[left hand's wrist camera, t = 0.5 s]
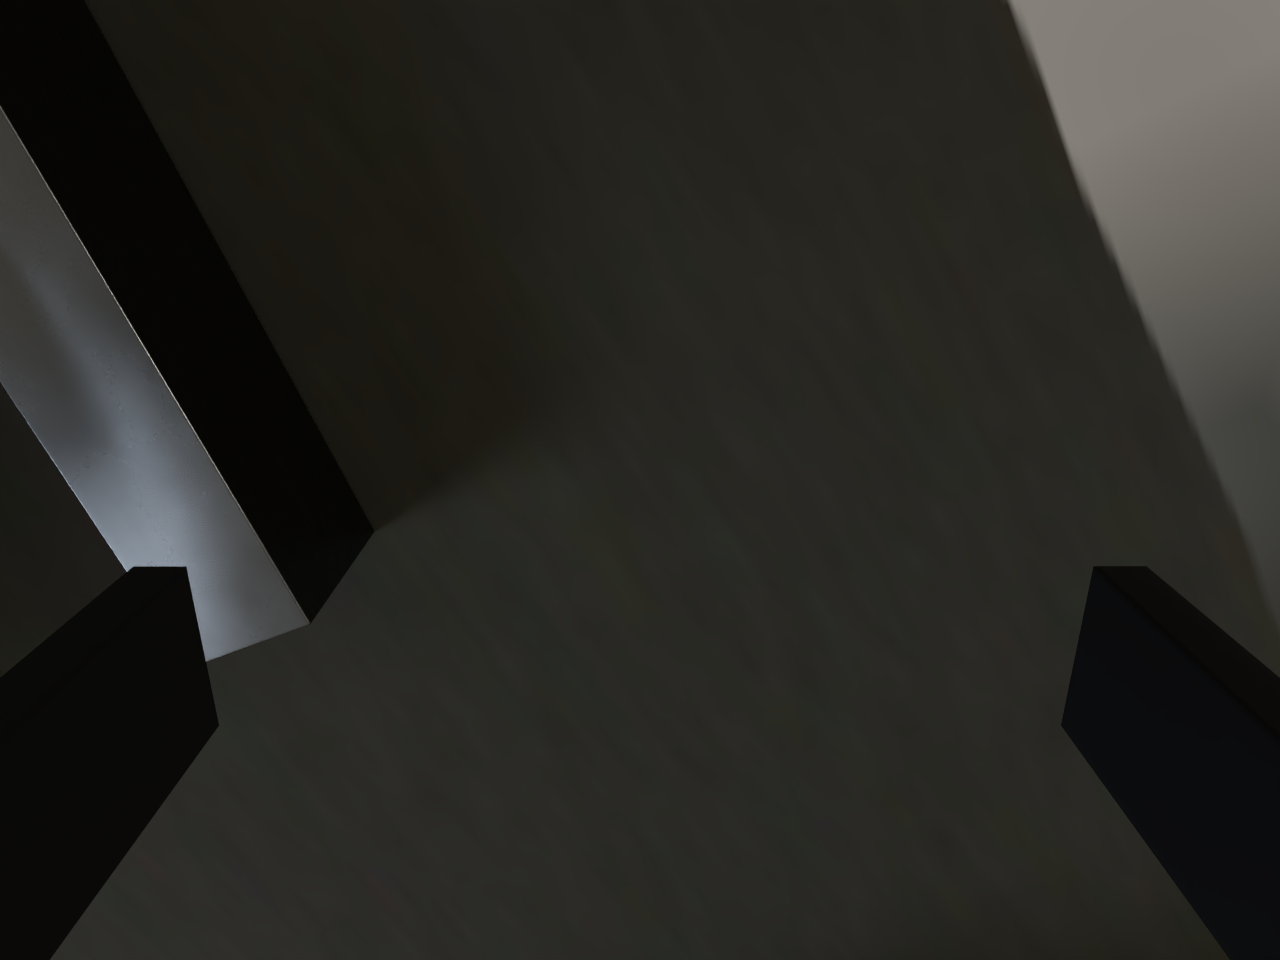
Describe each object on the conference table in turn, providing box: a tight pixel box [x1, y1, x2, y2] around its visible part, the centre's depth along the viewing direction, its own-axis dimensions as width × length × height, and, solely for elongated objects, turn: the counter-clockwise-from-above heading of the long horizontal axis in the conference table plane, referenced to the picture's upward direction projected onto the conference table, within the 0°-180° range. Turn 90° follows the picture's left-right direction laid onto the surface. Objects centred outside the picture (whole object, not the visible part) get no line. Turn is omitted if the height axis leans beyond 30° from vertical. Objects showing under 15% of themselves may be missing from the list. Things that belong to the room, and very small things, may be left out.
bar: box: [0, 0, 374, 662], centre depth 29 cm, size 34×5×8 cm, turn 22°
